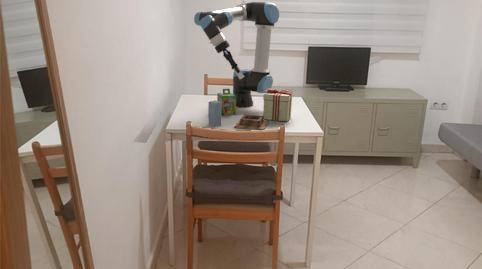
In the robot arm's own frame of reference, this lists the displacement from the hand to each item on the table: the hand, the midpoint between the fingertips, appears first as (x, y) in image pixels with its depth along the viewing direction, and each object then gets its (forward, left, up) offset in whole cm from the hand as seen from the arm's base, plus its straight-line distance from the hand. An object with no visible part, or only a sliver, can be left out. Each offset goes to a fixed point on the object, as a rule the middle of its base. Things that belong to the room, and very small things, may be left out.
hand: (241, 77), depth 235 cm
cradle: (+5, +5, -26) cm, 27 cm away
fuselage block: (-9, -10, -26) cm, 30 cm away
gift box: (+3, +29, -27) cm, 39 cm away
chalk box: (-23, +13, -27) cm, 38 cm away
